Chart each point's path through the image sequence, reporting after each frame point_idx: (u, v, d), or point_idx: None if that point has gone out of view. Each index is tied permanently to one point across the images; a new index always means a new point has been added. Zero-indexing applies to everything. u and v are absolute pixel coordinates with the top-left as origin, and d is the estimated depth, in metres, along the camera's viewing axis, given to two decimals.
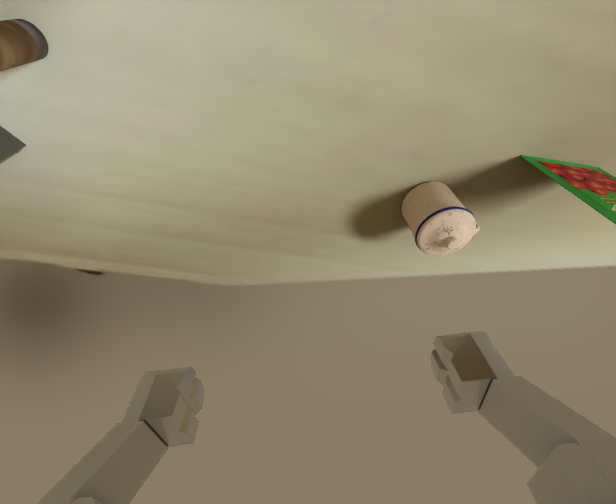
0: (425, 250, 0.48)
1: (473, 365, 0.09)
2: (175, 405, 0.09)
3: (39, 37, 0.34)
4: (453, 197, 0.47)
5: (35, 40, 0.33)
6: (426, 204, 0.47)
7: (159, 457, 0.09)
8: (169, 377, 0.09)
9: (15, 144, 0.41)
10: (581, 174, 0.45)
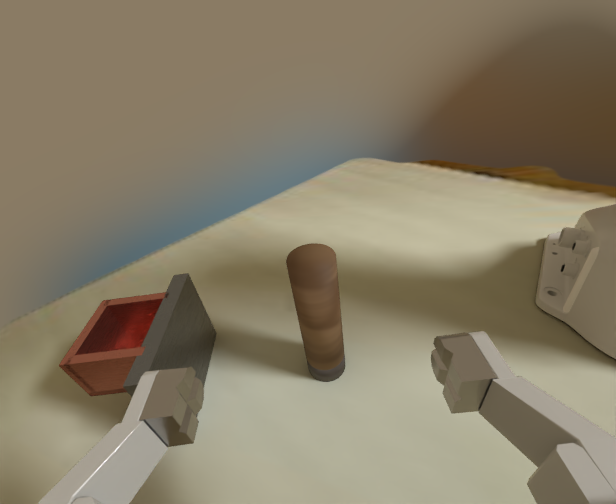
0: None
1: (473, 365, 0.09)
2: (175, 405, 0.09)
3: (343, 364, 0.30)
4: None
5: (342, 359, 0.29)
6: None
7: (159, 457, 0.09)
8: (169, 377, 0.09)
9: None
10: None
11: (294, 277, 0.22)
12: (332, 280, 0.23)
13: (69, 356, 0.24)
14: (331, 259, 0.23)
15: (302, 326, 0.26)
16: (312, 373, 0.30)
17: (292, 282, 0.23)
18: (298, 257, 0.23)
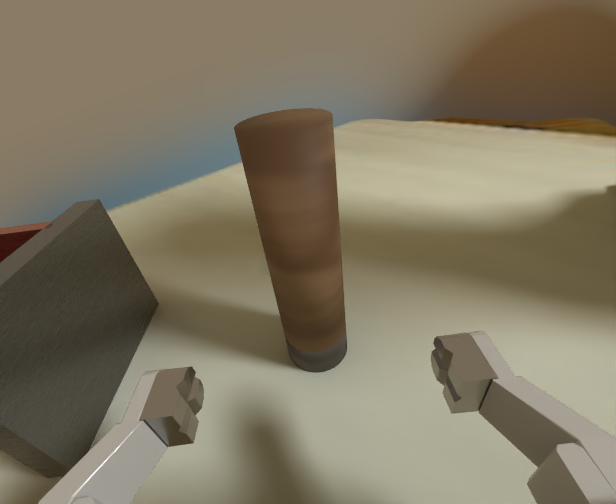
0: None
1: (472, 365, 0.09)
2: (175, 405, 0.09)
3: (345, 344, 0.19)
4: None
5: (343, 335, 0.18)
6: None
7: (159, 457, 0.09)
8: (169, 377, 0.09)
9: (71, 450, 0.15)
10: None
11: (248, 149, 0.11)
12: (325, 163, 0.11)
13: None
14: (323, 117, 0.11)
15: (272, 269, 0.15)
16: (294, 358, 0.19)
17: (246, 169, 0.12)
18: (259, 121, 0.12)
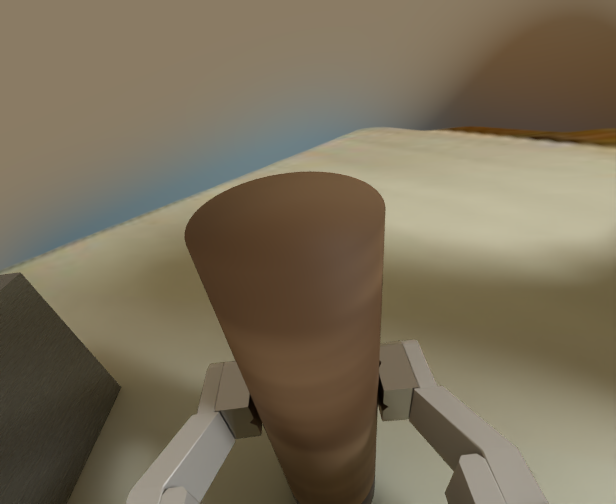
0: None
1: (398, 373, 0.09)
2: (249, 396, 0.09)
3: (373, 486, 0.13)
4: None
5: (373, 482, 0.12)
6: None
7: (228, 449, 0.09)
8: (237, 369, 0.09)
9: None
10: None
11: (211, 286, 0.05)
12: (370, 300, 0.06)
13: None
14: (367, 212, 0.05)
15: (266, 429, 0.09)
16: None
17: (212, 305, 0.06)
18: (238, 209, 0.06)
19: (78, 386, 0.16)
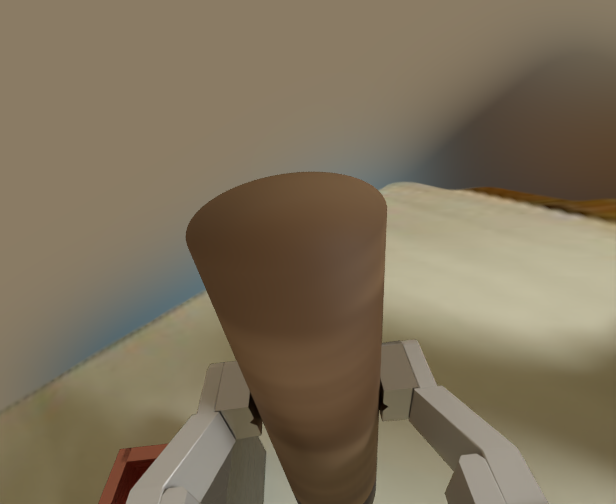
0: None
1: (398, 373, 0.09)
2: (249, 396, 0.09)
3: (375, 486, 0.13)
4: None
5: (374, 482, 0.12)
6: None
7: (229, 449, 0.09)
8: (237, 369, 0.09)
9: None
10: None
11: (212, 286, 0.05)
12: (372, 301, 0.06)
13: None
14: (369, 212, 0.05)
15: (267, 430, 0.09)
16: None
17: (214, 305, 0.06)
18: (239, 209, 0.06)
19: (256, 460, 0.24)
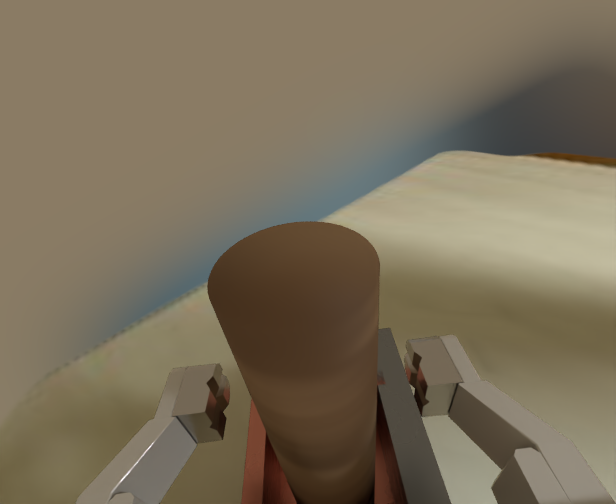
0: None
1: (440, 369, 0.09)
2: (207, 401, 0.09)
3: (373, 497, 0.14)
4: None
5: (373, 494, 0.13)
6: None
7: (189, 454, 0.09)
8: (198, 374, 0.09)
9: None
10: None
11: (231, 335, 0.06)
12: (367, 344, 0.07)
13: None
14: (364, 269, 0.06)
15: (274, 449, 0.10)
16: None
17: (230, 346, 0.07)
18: (252, 262, 0.07)
19: None
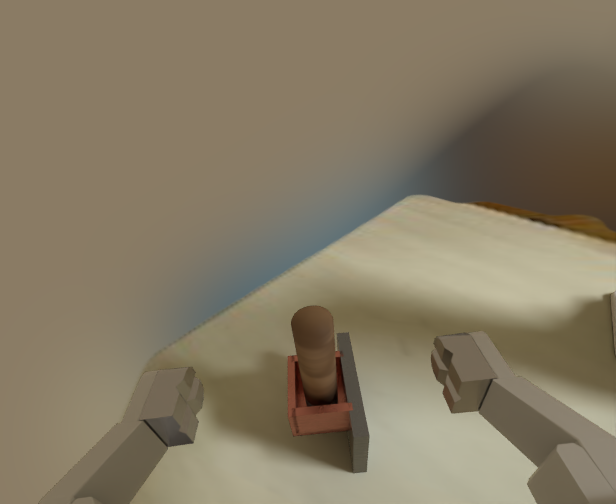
0: None
1: (473, 364, 0.09)
2: (175, 405, 0.09)
3: (336, 400, 0.35)
4: None
5: (336, 397, 0.34)
6: None
7: (159, 457, 0.09)
8: (169, 377, 0.09)
9: None
10: None
11: (298, 339, 0.27)
12: (330, 341, 0.27)
13: (292, 408, 0.31)
14: (329, 324, 0.27)
15: (302, 373, 0.30)
16: None
17: (296, 341, 0.27)
18: (301, 320, 0.28)
19: None
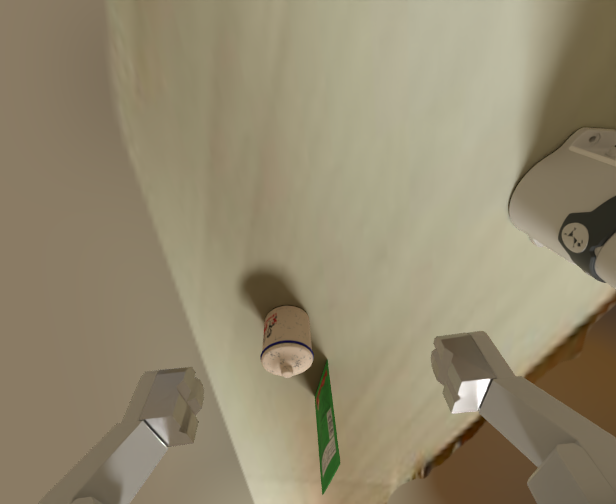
0: (269, 353, 0.50)
1: (473, 364, 0.09)
2: (175, 405, 0.09)
3: None
4: None
5: None
6: (304, 333, 0.53)
7: (159, 457, 0.09)
8: (169, 377, 0.09)
9: None
10: None
11: None
12: None
13: None
14: None
15: None
16: None
17: None
18: None
19: None
